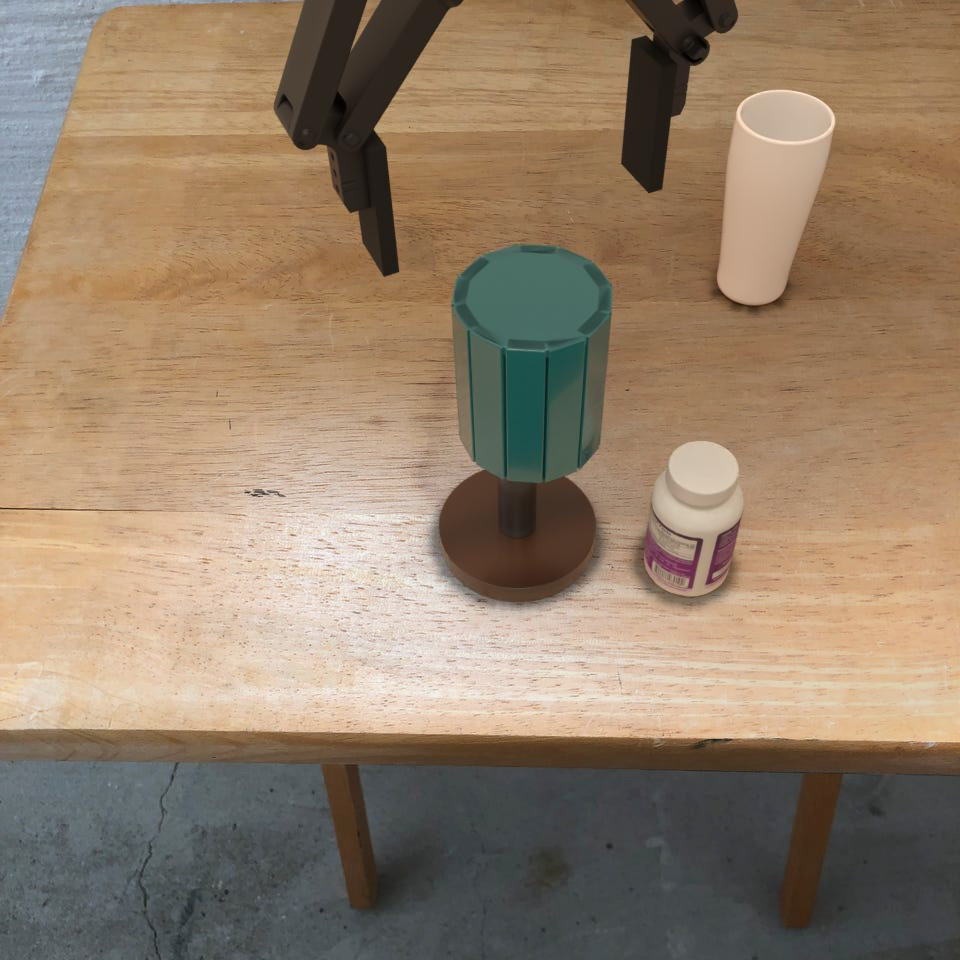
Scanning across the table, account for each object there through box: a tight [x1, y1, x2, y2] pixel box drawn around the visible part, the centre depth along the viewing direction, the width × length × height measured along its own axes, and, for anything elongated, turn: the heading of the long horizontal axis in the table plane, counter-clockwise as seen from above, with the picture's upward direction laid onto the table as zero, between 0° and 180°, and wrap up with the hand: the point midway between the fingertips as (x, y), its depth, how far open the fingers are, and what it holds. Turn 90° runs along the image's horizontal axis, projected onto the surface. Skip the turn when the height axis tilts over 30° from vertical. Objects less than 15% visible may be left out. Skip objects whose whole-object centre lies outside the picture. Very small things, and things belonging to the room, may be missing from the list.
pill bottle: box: [643, 440, 745, 597], centre depth 66 cm, size 5×5×10 cm
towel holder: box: [438, 469, 597, 603], centre depth 63 cm, size 10×10×20 cm
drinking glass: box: [716, 89, 836, 306], centre depth 80 cm, size 7×7×15 cm
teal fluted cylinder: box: [450, 243, 614, 483], centre depth 59 cm, size 8×8×10 cm
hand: (515, 216), depth 52 cm, fingers open, 13 cm apart
